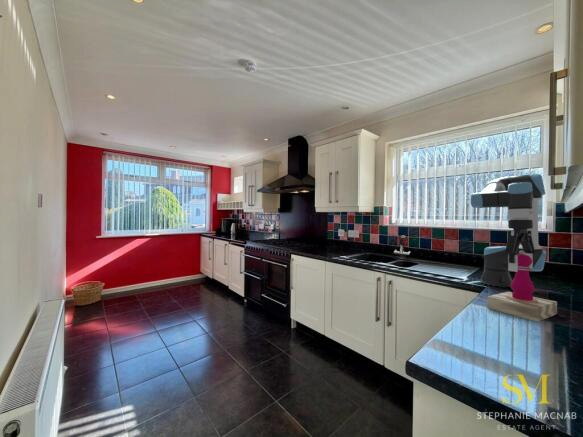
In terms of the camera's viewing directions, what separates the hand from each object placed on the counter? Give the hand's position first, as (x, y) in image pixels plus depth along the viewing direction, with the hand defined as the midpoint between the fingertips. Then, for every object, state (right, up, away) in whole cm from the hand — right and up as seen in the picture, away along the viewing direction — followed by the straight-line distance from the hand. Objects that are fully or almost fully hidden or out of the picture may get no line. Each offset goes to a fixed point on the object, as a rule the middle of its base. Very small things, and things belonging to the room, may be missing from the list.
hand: (520, 269), depth 102 cm
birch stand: (0, -17, -1) cm, 17 cm away
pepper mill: (0, -12, -1) cm, 12 cm away
